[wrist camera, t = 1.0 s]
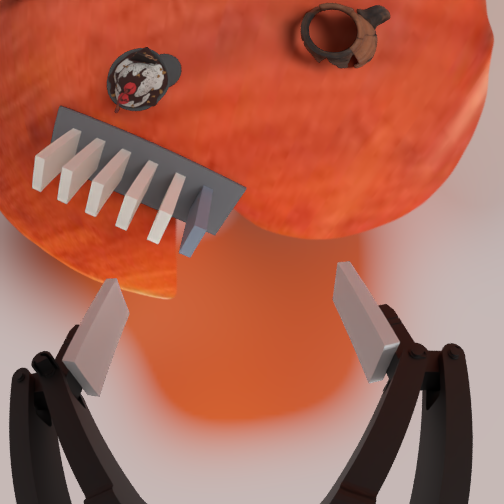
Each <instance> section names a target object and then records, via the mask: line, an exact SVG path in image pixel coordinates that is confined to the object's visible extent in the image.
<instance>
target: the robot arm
mask: <svg viewBox="0 0 504 504" xmlns="http://www.w3.org/2000/svg"><path fill="white" fill-rule="evenodd" d="M333 301H334V303H335V306H336V308H337V310H338V312H339V315H340V317H341V319H342V321H343V323H344V326H345V328H346V330H347V333H348V335H349V337H350V339H351V342H352V344H353V347H354V349H355V351H356V353H357V356H358V358H359V361H360V363H361V365H362V368H363V370H364V373H365V375H366V378H367V380H368V383H372V382H377V381H381V380H383V378H384V376H385V374H386V373H387V375H388V377H389V380H388V382H387V384H386V386H385V388H384V390H383V391H384V392H383V394H382V396H381V399H380V401H379V403H378V405H377V408H376V410H375V412H374V414H373V416H372V419H371V420H370V423H369V425H368V427H367V428H366V431H365V433H364V434H363V436H362V438H361V440H360V442H359V444H358V446H357V447H356V449H355V451H354V453H353V455H352V456H351V458H350V460H349V462H348V463H347V465H346V467H345V468H344V470H343V472H342V473H341V475H340V476H339V478H338V480H337V481H336V483H335V484H334V486H333V487H332V489H331V490H330V492H329V493H328V494H327V496H326V497H325V498H324V500H323V501H322V502H321V503H320V504H376V496H377V494H378V492H379V490H380V488H381V486H382V484H383V483H384V481H385V479H386V477H387V475H388V473H389V470H390V468H391V466H392V464H393V462H394V460H395V458H396V455H397V453H398V450H399V448H400V446H401V443H402V441H403V439H404V436H405V433H406V431H407V428H408V425H409V423H410V420H411V417H412V414H413V411H414V408H415V405H416V402H417V399H418V396H419V392H420V390H423V392H422V419H421V432H420V443H419V453H418V460H417V467H416V474H415V479H414V484H413V490H412V494H411V499H410V504H468V500H469V492H470V483H471V472H472V470H471V469H472V448H473V447H472V446H473V443H472V442H473V435H472V410H471V397H470V388H469V379H468V372H467V365H466V359H465V354H464V351H463V349H462V348H461V347H460V346H458V345H456V344H453V343H451V344H447V345H445V346H444V347H443V349H442V351H428V350H427V349H426V348H425V347H424V346H423V345H421V344H419V343H415V342H414V341H413V339H412V338H411V336H410V334H409V333H408V332H407V330H406V328H405V326H404V325H403V324H402V322H401V320H400V319H399V318H398V316H397V314H396V313H395V311H394V310H393V309H392V308H391V307H389V306H388V305H387V304H384V305H377V303H376V301H375V300H374V299H373V297H372V295H371V293H370V292H369V290H368V289H367V287H366V285H365V284H364V282H363V281H362V279H361V278H360V276H359V275H358V273H357V272H356V271H355V269H354V267H353V266H352V264H351V263H350V261H348V262H339V263H338V264H337V271H336V280H335V286H334V293H333ZM128 316H129V311H128V308H127V305H126V303H125V300H124V297H123V295H122V292H121V289H120V286H119V284H118V281H117V278H114V279H106V280H105V282H104V283H103V285H102V287H101V288H100V290H99V292H98V293H97V295H96V297H95V299H94V300H93V302H92V304H91V305H90V307H89V309H88V311H87V313H86V314H85V316H84V318H83V320H82V322H81V324H80V325H75V326H74V327H73V328H72V329H71V330H70V331H69V333H68V335H67V337H66V339H65V341H64V344H63V345H62V347H61V349H60V351H59V353H58V354H57V356H56V359H54V358H53V356H52V355H51V354H50V352H48V351H43V352H40V353H38V354H37V355H36V356H35V357H34V358H33V360H32V367H33V369H34V370H35V371H36V373H34V374H31V373H30V372H29V371H28V370H27V369H26V368H20V369H18V370H17V371H16V372H15V373H14V375H13V377H12V384H11V395H10V396H11V397H10V416H9V417H10V418H9V438H10V457H11V468H12V478H13V485H14V492H15V497H16V502H17V504H72V503H71V500H70V496H69V492H68V488H67V484H66V480H65V476H64V471H63V467H62V461H61V456H60V449H59V443H58V438H59V441H60V443H61V446H62V448H63V450H64V453H65V455H66V458H67V460H68V462H69V464H70V467H71V469H72V471H73V473H74V475H75V477H76V479H77V481H78V483H79V485H80V487H81V489H82V491H83V493H84V495H85V497H86V499H85V500H84V504H147V503H146V502H144V500H143V499H142V498H141V497H140V496H139V494H138V493H137V492H136V490H135V489H134V487H133V486H132V485H131V483H130V481H129V480H128V479H127V477H126V476H125V474H124V472H123V471H122V469H121V468H120V466H119V465H118V463H117V461H116V460H115V458H114V456H113V455H112V453H111V451H110V450H109V448H108V446H107V444H106V443H105V441H104V439H103V437H102V435H101V434H100V431H99V430H98V427H97V426H96V424H95V422H94V419H93V418H92V415H91V413H90V411H89V409H88V407H87V405H86V403H85V400H84V398H83V396H82V395H81V391H82V388H83V390H84V391H85V392H86V393H87V395H92V396H100V393H101V390H102V387H103V384H104V381H105V378H106V375H107V372H108V369H109V366H110V363H111V361H112V358H113V355H114V352H115V349H116V347H117V344H118V341H119V338H120V336H121V334H122V331H123V328H124V326H125V323H126V321H127V318H128Z"/></svg>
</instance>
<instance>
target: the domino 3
mask: <svg viewBox="0 0 504 504" xmlns="http://www.w3.org/2000/svg"><path fill="white" fill-rule="evenodd" d="M130 155H131V152H129V151H127V150H125V149H121V150H120V151H119V152H118V153H117V154H116V155H115V156H114V157H113V158H112V159H111V160H110V161H109V163H108V164H107V165H106V166H105V167H104V168H103V169H102V170H101V171H100V172H99V173H98V175H97V176H96V177H95V178H94V179H93V180H92V184H91V188H90V192H89V197H88V201H87V206H86V210H85V213H87V214H90V215H92V216H94V217H96V216H97V214H98V213H99V211H100V210H101V208H102V207H103V205H104V204H105V202H106V201H107V199H108V198H109V196H110V195H111V194H112V192H113V191H114V189H115V188H116V187H117V185H118V184H119V182H120V181H121V180H122V177H123V174H124V171H125V168H126V166H127V163H128V160H129V158H130Z"/></svg>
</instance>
